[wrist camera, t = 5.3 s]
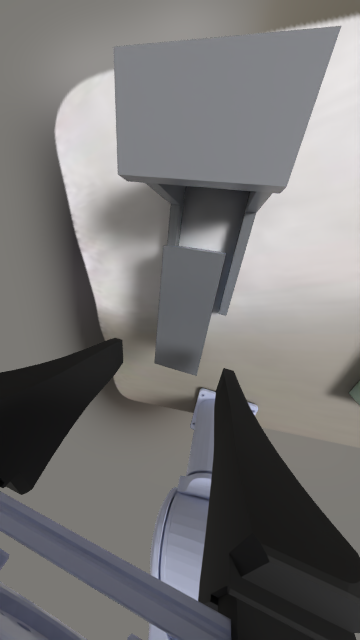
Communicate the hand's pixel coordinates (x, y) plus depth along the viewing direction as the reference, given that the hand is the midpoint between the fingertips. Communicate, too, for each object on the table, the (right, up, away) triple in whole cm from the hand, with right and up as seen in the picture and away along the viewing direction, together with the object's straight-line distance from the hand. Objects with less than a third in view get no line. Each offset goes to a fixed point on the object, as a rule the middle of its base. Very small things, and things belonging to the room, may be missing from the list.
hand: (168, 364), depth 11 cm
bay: (+3, +10, +5) cm, 12 cm away
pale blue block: (+3, +6, +7) cm, 9 cm away
